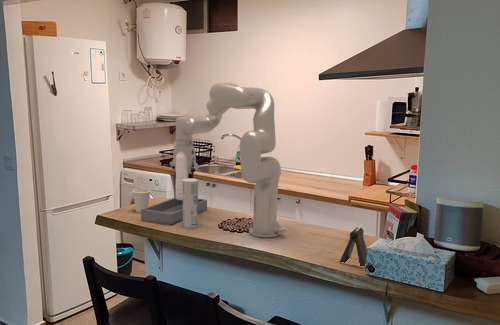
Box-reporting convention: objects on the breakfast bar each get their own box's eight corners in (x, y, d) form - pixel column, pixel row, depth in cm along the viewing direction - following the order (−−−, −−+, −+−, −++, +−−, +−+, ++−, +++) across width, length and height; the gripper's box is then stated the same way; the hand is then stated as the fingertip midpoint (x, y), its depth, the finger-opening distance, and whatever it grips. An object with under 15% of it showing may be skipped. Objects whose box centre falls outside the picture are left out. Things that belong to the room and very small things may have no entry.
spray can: (194, 228, 184) (194, 181, 181) (180, 227, 186) (180, 180, 182) (200, 224, 190) (200, 179, 187) (186, 222, 192) (186, 177, 189)
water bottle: (183, 201, 204) (183, 147, 200) (172, 199, 207) (172, 146, 203) (195, 197, 211) (195, 146, 207) (185, 195, 214) (185, 145, 211)
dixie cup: (140, 214, 204) (139, 193, 202) (129, 210, 209) (128, 190, 207) (154, 210, 210) (154, 190, 209) (143, 207, 215) (143, 187, 214)
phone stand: (339, 263, 150) (341, 229, 148) (345, 257, 155) (347, 224, 153) (365, 269, 145) (367, 234, 143) (370, 263, 150) (372, 229, 148)
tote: (207, 209, 214) (207, 199, 213) (171, 225, 187) (171, 214, 186) (179, 205, 221) (179, 195, 220) (141, 220, 194) (140, 209, 193)
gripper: (204, 143, 205) (203, 181, 208) (173, 141, 212) (173, 177, 215) (195, 145, 198) (195, 184, 201) (164, 142, 205) (164, 180, 208)
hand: (184, 180), depth 208 cm, fingers closed on water bottle, 6 cm apart
